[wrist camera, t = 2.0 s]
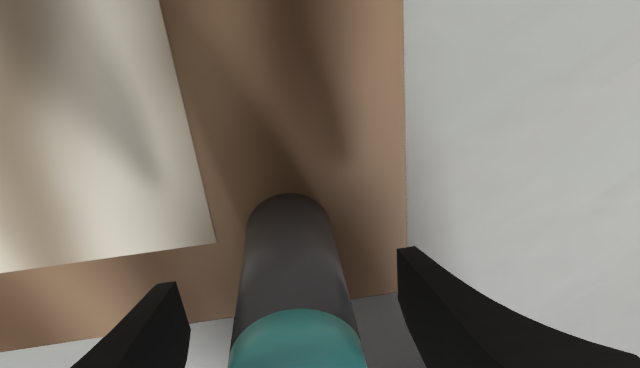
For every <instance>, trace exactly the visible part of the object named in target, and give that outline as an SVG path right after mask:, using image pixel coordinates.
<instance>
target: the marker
mask: <svg viewBox="0 0 640 368" xmlns="http://www.w3.org/2000/svg"><path fill="white" fill-rule="evenodd" d="M228 368H368V367H367V363H366V359H365V355H364V351H363V348H362V344H361V340H360V336H359V332H358V328H357V324H356V321H355V317H354V313H353V309H352V305H351V301H350V297H349V293H348V290H347V286H346V282H345V278H344V274H343V270H342V266H341V262H340V259H339V255H338V251H337V247H336V243H335V239H334V235H333V232H332V228H331V224H330V220H329V217H328V215H327V213H326V211H325V210H324V209H323V207H322V206H321V205H320V204H319V203H317V202H316V201H315V200H313V199H311V198H309V197H307V196H304V195H301V194H295V193H285V194H279V195H275V196H272V197H270V198H268V199H266V200H265V201H263V202H262V203H260V204H259V205H258V206H257V207H256V208H255V209H254V211H253V212H252V213H251V215H250V217H249V220H248V223H247V229H246V236H245V244H244V251H243V258H242V266H241V273H240V280H239V288H238V295H237V303H236V310H235V317H234V325H233V332H232V339H231V347H230V354H229V362H228Z"/></svg>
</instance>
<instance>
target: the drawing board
mask: <svg viewBox="0 0 640 368" xmlns="http://www.w3.org/2000/svg"><path fill="white" fill-rule="evenodd" d="M285 193H295V194H301V195H304V196H307V197H309V198H311V199H313V200H315V201H316V202H317V203H319V204H320V205H321V206H322V207H323V209H324V210H325V211H326V213H327V215H328V217H329V220H330V224H331V228H332V232H333V235H334V239H335V243H336V247H337V251H338V255H339V259H340V262H341V266H342V270H343V274H344V278H345V282H346V286H347V290H348V293H349V297H350V299H356V298H363V297H369V296H376V295H382V294H389V293H396V292H398V285H397V249H399V248H406V247H407V222H406V155H405V89H404V22H403V0H0V352H5V351H12V350H18V349H25V348H31V347H38V346H45V345H51V344H58V343H65V342H71V341H78V340H84V339H91V338H98V337H104V336H106V335H107V334H108V333H109V332H110V331H111V330H112V329H113V328H114V327H115V326H116V325H117V324H118V323H119V322H120V321H121V320H122V319H123V318H124V317H125V316H126V315H127V314H128V313H129V312H130V311H131V310H132V309H133V308H134V306H135V305H136V304H137V303H138V302H139V301H140V300H141V299H142V298H143V297H144V296H145V295H146V294H147V293H148V292H149V291H150V290H151V289H152V288H153V287H154V286H155V285H156V284H159V283H166V282H173V281H176V283H177V286H178V290H179V293H180V296H181V300H182V303H183V306H184V309H185V313H186V316H187V319H188V322H189V324H190V323H197V322H204V321H210V320H217V319H224V318H230V317H235V310H236V303H237V295H238V288H239V280H240V273H241V266H242V258H243V251H244V244H245V236H246V229H247V223H248V220H249V217H250V215H251V213H252V212H253V211H254V209H255V208H256V207H257V206H258V205H259V204H260V203H262V202H263V201H265V200H266V199H268V198H270V197H272V196H275V195H279V194H285Z"/></svg>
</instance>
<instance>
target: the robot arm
mask: <svg viewBox="0 0 640 368" xmlns="http://www.w3.org/2000/svg"><path fill="white" fill-rule="evenodd" d="M397 285H398V300H399V303H400V307H401V310H402V313H403V316H404V319H405V322H406V325H407V327H408V329H409V331H410V333H411V336H412V338H413V340H414V342H415V344H416V346H417V348H418V350H419V352H420V355H421V357H422V359H423V361H424V363H425V365H426V367H427V368H640V358H639V357H638V356H637V355H634V354H631V353H627V352H624V351H620V350H617V349H613V348H610V347H606V346H603V345H599V344H596V343H593V342H589V341H586V340H584V339H581V338H578V337H575V336H572V335H569V334H566V333H564V332H561V331H558V330H556V329H553V328H551V327H548V326H546V325H543V324H541V323H539V322H536V321H534V320H532V319H529V318H527V317H525V316H523V315H521V314H519V313H516V312H514V311H512V310H511V309H509V308H507V307H505V306H503V305H501V304H499V303H497V302H495V301H493V300H492V299H490V298H488V297H486V296H485V295H483V294H481V293H480V292H478V291H477V290H475V289H473V288H472V287H470V286H469V285H467V284H466V283H464V282H463V281H461V280H460V279H458V278H457V277H455V276H454V275H452V274H451V273H450V272H448V271H447V270H445V269H444V268H443V267H441V266H440V265H439V264H437V263H436V262H435V261H433V260H432V259H431V258H430V257H428V256H427V255H426V254H424V253H423V252H422V251H420V250H419V249H418V248H416V247H415V246H413V247H406V248H399V249H397ZM190 332H191V329H190V326H189V322H188V319H187V316H186V313H185V309H184V306H183V303H182V300H181V296H180V293H179V290H178V286H177V283H176V281H173V282H166V283H159V284H156V285H155V286H154V287H153V288H152V289H151V290H150V291H149V292H148V293H147V294H146V295H145V296H144V297H143V298H142V299H141V300H140V301H139V302H138V303H137V304H136V305H135V306H134V308H133V309H132V310H131V311H130V312H129V313H128V314H127V315H126V316H125V317H124V318H123V319H122V320H121V321H120V322H119V323H118V324H117V325H116V326H115V327H114V328H113V329H112V330H111V331H110V332H109V333H108V334H107V335H106V336H105V337H104V338H103V339H101V340H100V341H99V342H98V343H97V344H96V345H95V346H94V347H93V348H92V349H91V350H90V351H89V352H88V353H87V354H86V355H84V356H83V357H82V358H81V359H80V360H79V361H78V362H76V363H75V364H74V365H73V366H72V367H71V368H185V365H186V361H187V355H188V348H189V340H190Z"/></svg>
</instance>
